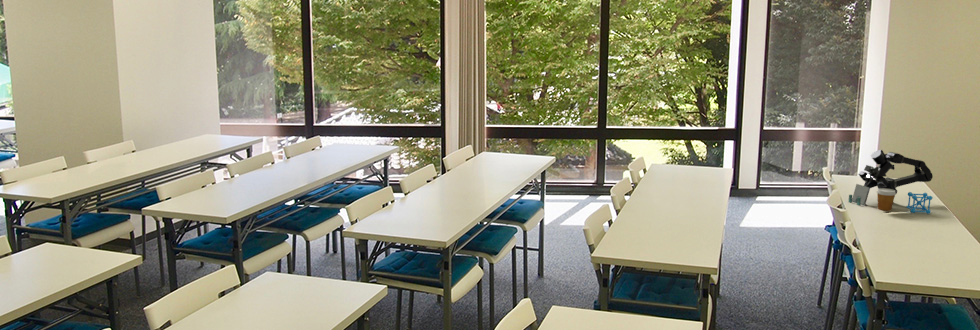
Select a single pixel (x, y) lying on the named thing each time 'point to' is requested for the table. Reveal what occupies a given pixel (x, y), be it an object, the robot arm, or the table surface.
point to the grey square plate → (861, 194)
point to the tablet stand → (857, 200)
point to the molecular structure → (919, 202)
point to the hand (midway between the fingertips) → (863, 189)
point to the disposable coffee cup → (885, 199)
